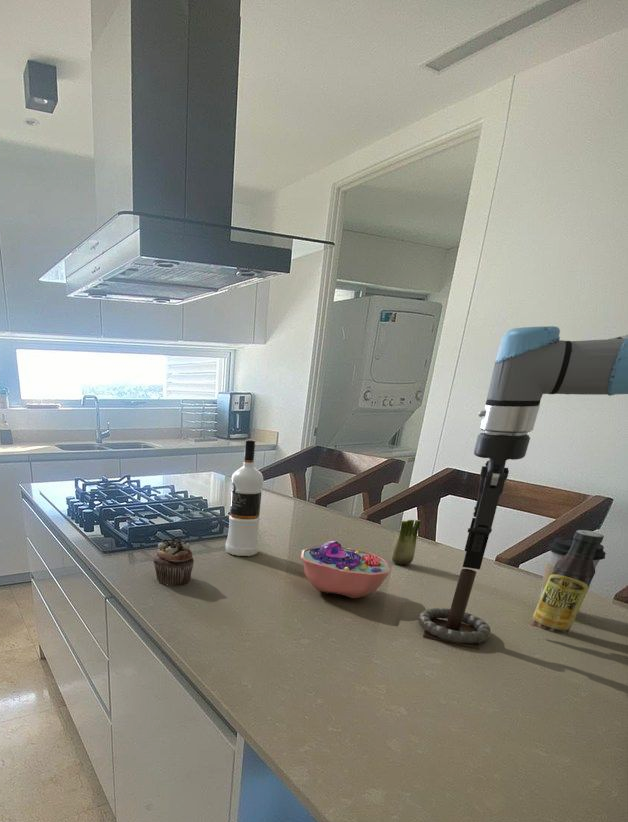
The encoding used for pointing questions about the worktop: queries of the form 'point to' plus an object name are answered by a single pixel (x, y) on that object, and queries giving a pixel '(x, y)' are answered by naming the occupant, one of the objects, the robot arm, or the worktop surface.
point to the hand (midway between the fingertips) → (471, 559)
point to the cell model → (344, 570)
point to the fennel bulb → (406, 542)
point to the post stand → (458, 610)
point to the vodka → (245, 506)
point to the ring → (452, 635)
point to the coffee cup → (560, 550)
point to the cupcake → (173, 562)
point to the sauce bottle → (568, 584)
